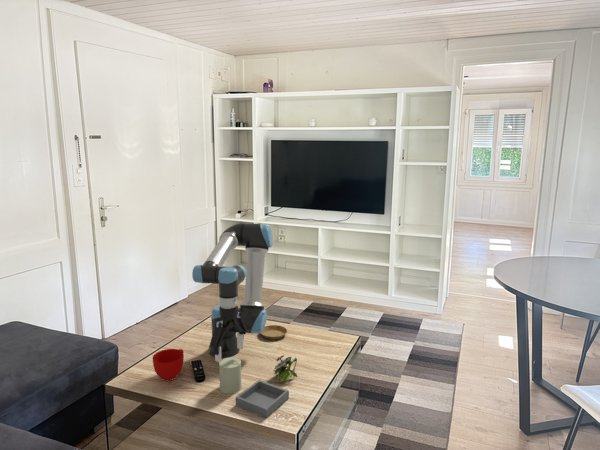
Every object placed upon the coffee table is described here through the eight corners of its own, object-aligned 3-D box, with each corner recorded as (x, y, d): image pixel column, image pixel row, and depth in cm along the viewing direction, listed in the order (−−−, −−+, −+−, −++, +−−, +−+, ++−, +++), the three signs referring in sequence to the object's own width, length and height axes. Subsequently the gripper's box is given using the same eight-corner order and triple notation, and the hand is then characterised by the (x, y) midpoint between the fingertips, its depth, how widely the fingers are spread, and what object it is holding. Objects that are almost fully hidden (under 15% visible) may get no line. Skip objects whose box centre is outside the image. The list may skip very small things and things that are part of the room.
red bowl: (195, 367, 198) (194, 347, 196) (172, 387, 182) (171, 365, 180) (171, 363, 202) (170, 343, 200) (147, 381, 186) (146, 359, 185)
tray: (235, 405, 170) (235, 397, 169) (259, 387, 182) (259, 379, 182) (266, 418, 162) (266, 409, 161) (288, 398, 174) (288, 390, 174)
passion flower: (280, 385, 194) (283, 357, 199) (301, 386, 189) (304, 358, 194) (267, 381, 185) (271, 352, 191) (289, 383, 181) (293, 353, 186)
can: (237, 395, 177) (236, 368, 174) (216, 392, 178) (215, 365, 176) (244, 383, 186) (244, 357, 183) (224, 380, 187) (223, 355, 185)
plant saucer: (287, 329, 241) (287, 325, 240) (286, 341, 226) (286, 336, 226) (261, 329, 240) (261, 324, 240) (258, 341, 226) (258, 336, 226)
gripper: (214, 317, 163) (215, 369, 167) (255, 298, 184) (255, 345, 187) (199, 313, 167) (201, 364, 170) (241, 295, 188) (242, 341, 191)
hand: (229, 354), depth 179 cm, fingers open, 13 cm apart
